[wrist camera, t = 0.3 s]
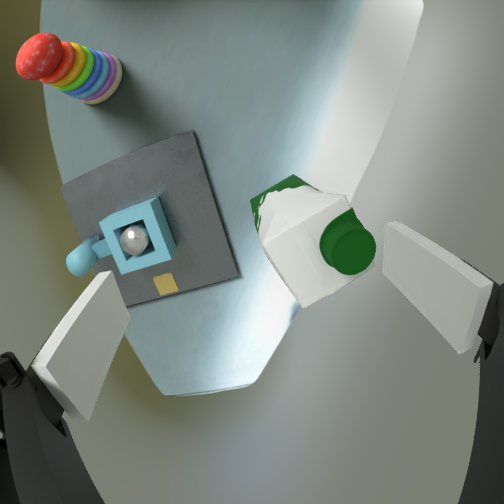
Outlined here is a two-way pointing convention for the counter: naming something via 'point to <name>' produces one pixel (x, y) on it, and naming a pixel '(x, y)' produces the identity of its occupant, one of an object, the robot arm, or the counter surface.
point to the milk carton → (311, 238)
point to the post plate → (175, 210)
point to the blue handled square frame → (112, 230)
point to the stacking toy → (70, 67)
